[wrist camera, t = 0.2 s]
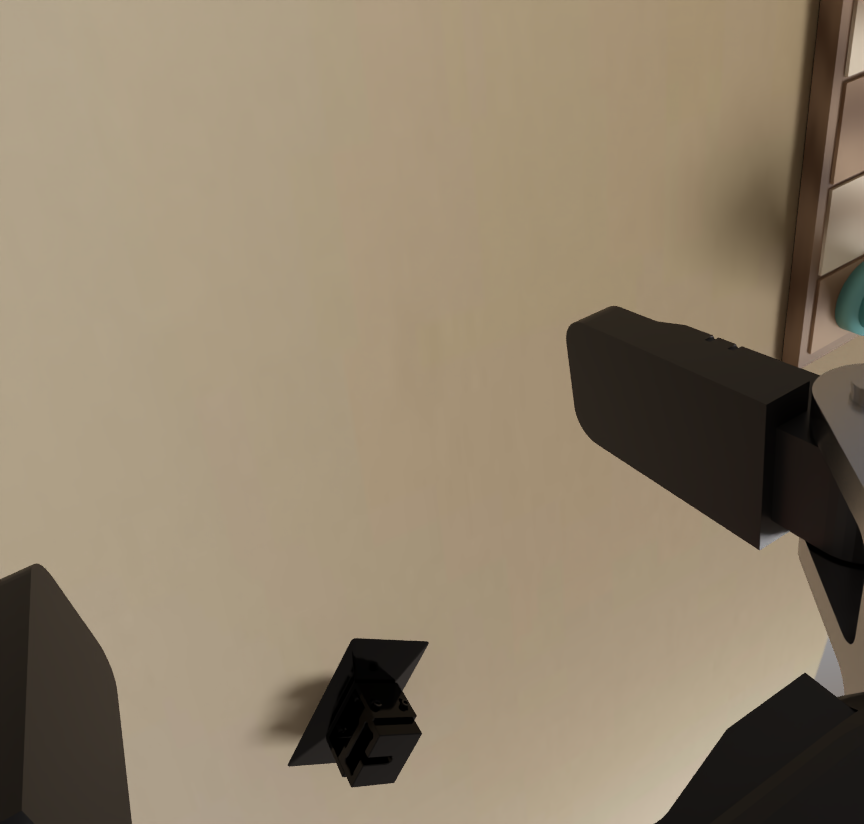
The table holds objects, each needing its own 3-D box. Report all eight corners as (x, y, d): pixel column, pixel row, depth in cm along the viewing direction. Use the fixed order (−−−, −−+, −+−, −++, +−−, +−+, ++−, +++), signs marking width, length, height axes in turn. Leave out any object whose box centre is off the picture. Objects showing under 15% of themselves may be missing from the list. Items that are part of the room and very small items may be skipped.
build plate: (347, 605, 37) (383, 666, 33) (449, 613, 41) (490, 668, 38) (259, 781, 39) (283, 856, 36) (363, 771, 44) (395, 837, 40)
